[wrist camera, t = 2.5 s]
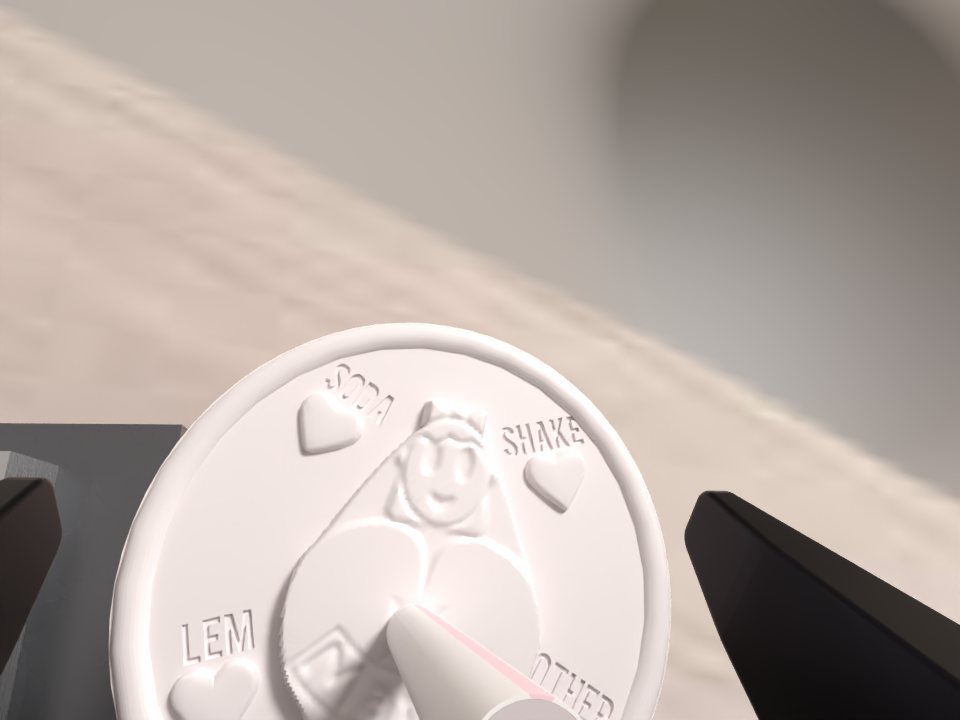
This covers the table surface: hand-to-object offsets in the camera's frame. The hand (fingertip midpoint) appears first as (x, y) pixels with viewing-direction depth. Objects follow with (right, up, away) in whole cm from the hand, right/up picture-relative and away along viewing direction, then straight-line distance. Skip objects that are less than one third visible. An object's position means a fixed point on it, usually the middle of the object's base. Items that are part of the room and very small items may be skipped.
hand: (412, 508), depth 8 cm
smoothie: (-2, -4, +7) cm, 8 cm away
